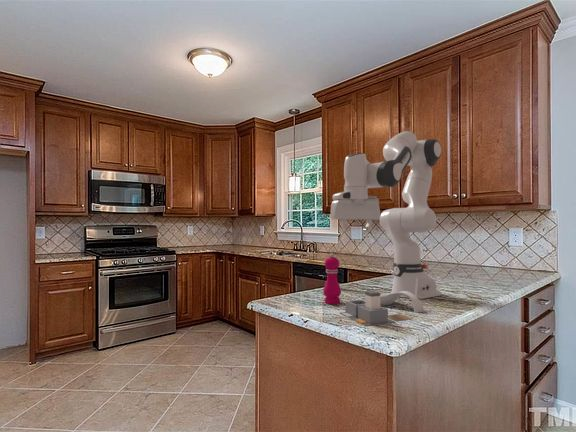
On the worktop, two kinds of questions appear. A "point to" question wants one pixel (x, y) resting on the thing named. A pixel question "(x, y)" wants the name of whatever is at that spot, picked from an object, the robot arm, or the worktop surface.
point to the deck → (398, 317)
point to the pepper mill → (332, 281)
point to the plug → (372, 300)
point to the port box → (365, 313)
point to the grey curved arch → (390, 298)
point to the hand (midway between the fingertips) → (356, 231)
